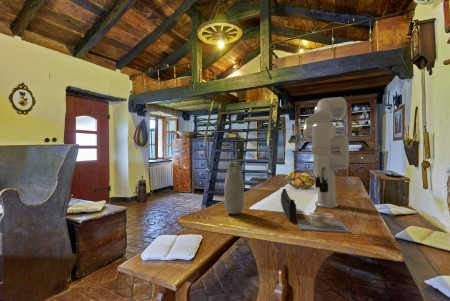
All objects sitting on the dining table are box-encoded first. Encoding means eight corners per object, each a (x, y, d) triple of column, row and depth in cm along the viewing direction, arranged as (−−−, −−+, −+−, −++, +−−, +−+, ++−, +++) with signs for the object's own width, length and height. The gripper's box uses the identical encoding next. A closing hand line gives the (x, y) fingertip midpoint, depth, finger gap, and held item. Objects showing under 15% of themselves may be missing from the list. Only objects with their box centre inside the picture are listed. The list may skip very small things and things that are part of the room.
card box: (331, 223, 106) (331, 213, 106) (333, 227, 101) (333, 216, 101) (309, 222, 108) (309, 212, 108) (311, 226, 103) (311, 215, 103)
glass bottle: (222, 215, 123) (221, 161, 122) (229, 210, 132) (229, 160, 131) (239, 217, 119) (239, 162, 118) (246, 212, 128) (246, 160, 127)
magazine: (298, 205, 106) (287, 177, 134) (290, 205, 106) (281, 177, 135) (295, 237, 111) (286, 204, 140) (288, 237, 112) (280, 203, 140)
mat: (296, 220, 113) (296, 219, 113) (340, 222, 109) (341, 221, 109) (299, 230, 100) (299, 228, 100) (350, 232, 96) (350, 231, 96)
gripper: (308, 150, 113) (309, 185, 114) (316, 152, 96) (316, 193, 97) (325, 150, 112) (325, 186, 112) (335, 152, 95) (335, 194, 95)
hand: (321, 189), depth 105 cm, fingers open, 9 cm apart
